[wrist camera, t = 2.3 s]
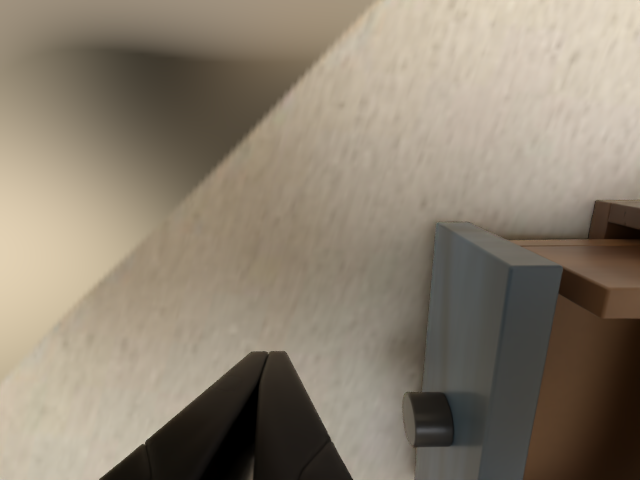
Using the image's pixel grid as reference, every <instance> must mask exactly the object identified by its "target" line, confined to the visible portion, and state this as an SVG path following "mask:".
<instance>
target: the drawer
mask: <svg viewBox="0 0 640 480" xmlns="http://www.w3.org/2000/svg"><path fill="white" fill-rule="evenodd" d="M403 421H404V427H405V432H406V436H407V439H408V441H409V443H410V445H411V446H412V447H417V453H416V465H415V477H414V480H640V239H568V240H506V239H504V238H502V237H500V236H498V235H495V234H493V233H491V232H489V231H487V230H485V229H483V228H481V227H478V226H476V225H474V224H472V223H470V222H438V223H437V224H436V233H435V244H434V256H433V267H432V279H431V291H430V302H429V314H428V326H427V337H426V349H425V360H424V372H423V384H422V392H406V393H405V394H404V397H403Z"/></svg>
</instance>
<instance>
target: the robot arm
mask: <svg viewBox="0 0 640 480" xmlns="http://www.w3.org/2000/svg"><path fill="white" fill-rule="evenodd" d="M99 480H353V479H352V477H351V475H350V473H349V472H348V470H347V468H346V466H345V464H344V463H343V461H342V459H341V457H340V456H339V454H338V452H337V450H336V448H335V446H334V444H333V442H331V438H330V436H329V435H328V433H327V431H326V429H325V427H324V425H323V423H322V421H321V419H320V417H319V415H318V413H317V411H316V409H315V407H314V405H313V403H312V401H311V399H310V397H309V396H308V394H307V392H306V390H305V388H304V386H303V384H302V382H301V380H300V378H299V376H298V374H297V372H296V370H295V368H294V366H293V364H292V362H291V360H290V358H289V356H288V355H287V353H286V352H285V351H271V352H269V354H268V352H266V351H256V352H251V353H249V354H248V355H247V356H246V357H245V358H243V359H242V360H241V361H240V362H239V363H237V364H236V365H235V366H234V367H233V368H232V369H230V370H229V371H228V372H227V373H226V374H224V375H223V376H222V377H221V378H220V379H219V380H217V381H216V382H215V383H214V384H213V385H211V386H210V387H209V388H208V389H207V390H206V391H204V392H203V393H202V394H201V395H200V396H198V397H197V398H196V399H195V400H194V401H193V402H191V403H190V404H189V405H188V406H187V407H185V408H184V409H183V410H182V411H181V412H180V413H178V414H177V415H176V416H175V417H174V418H172V419H171V420H170V421H169V422H168V423H167V424H165V425H164V426H163V427H162V428H161V429H159V430H158V431H157V432H156V433H155V434H154V435H152V436H151V437H150V438H149V439H148V440H146V442H145V445H144V444H142V445H140V446H139V447H138V448H137V449H136V450H134V451H133V452H132V453H131V454H130V455H128V456H127V457H126V458H125V459H124V460H122V461H121V462H120V463H119V464H118V465H116V466H115V467H114V468H113V469H111V470H110V471H109V472H108V473H106V474H105V475H104V476H103V477H102V478H100V479H99Z"/></svg>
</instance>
